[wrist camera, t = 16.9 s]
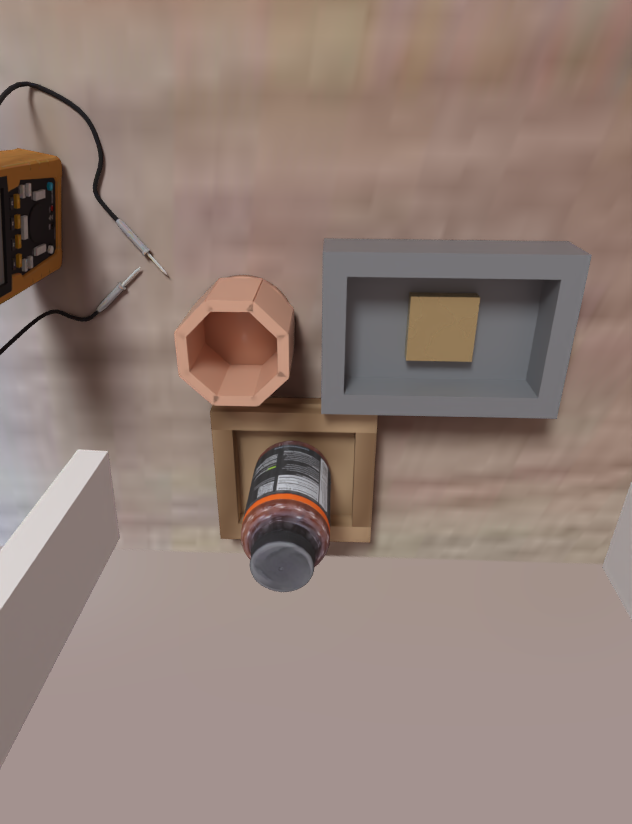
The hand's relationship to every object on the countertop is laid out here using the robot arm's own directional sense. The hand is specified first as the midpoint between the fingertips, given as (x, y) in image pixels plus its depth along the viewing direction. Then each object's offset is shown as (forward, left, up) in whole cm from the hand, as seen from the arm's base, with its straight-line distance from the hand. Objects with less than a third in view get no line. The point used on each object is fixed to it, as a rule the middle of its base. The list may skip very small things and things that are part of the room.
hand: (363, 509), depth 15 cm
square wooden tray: (-4, -16, -28) cm, 32 cm away
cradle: (+6, -4, -28) cm, 29 cm away
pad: (+6, -4, -27) cm, 28 cm away
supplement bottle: (-4, -16, -27) cm, 32 cm away
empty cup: (-7, -5, -28) cm, 29 cm away
